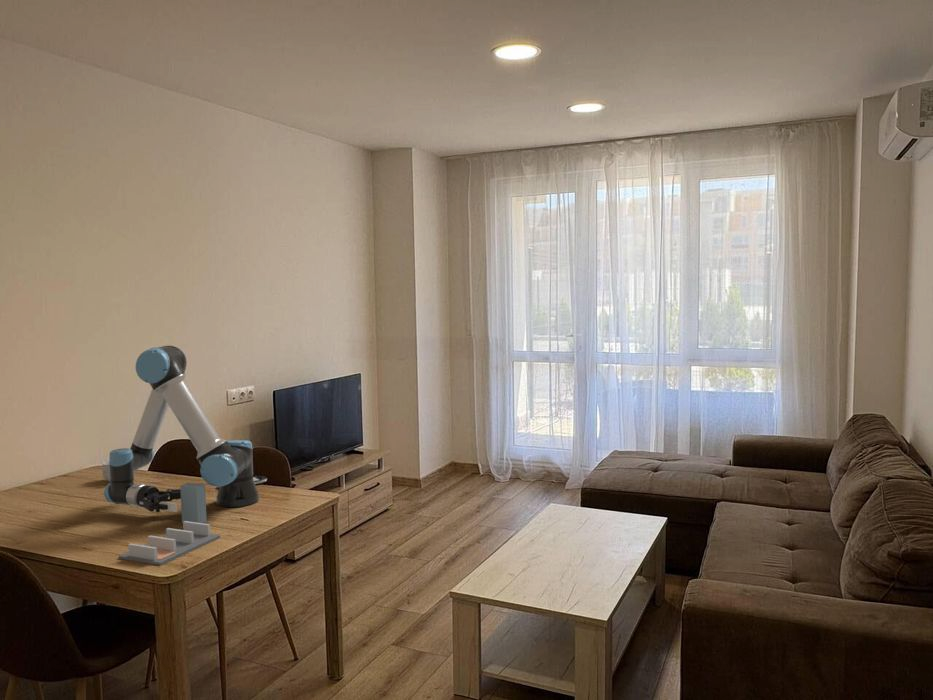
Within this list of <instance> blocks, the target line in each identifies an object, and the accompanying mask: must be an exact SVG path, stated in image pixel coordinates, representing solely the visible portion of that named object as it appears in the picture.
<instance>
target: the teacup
mask: <svg viewBox="0 0 933 700" xmlns="http://www.w3.org/2000/svg"><path fill="white" fill-rule="evenodd" d="M101 465H102V477H103V479H104V480H106V481H107V482H108V483H110V482H111V479H110V464H109V460H108V461H104V462H102V464H101Z"/></svg>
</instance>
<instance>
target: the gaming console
mask: <svg viewBox="0 0 933 700" xmlns="http://www.w3.org/2000/svg"><path fill="white" fill-rule="evenodd" d="M253 480H254V483H255V486H257V485H263V484H266V482H267V480H268V478H267V477H266V476H264V475H256V476H254V475H253Z"/></svg>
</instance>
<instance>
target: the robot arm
mask: <svg viewBox="0 0 933 700" xmlns="http://www.w3.org/2000/svg"><path fill="white" fill-rule="evenodd" d="M187 363H188V362H187V357H186V355H185V353H184V352H183V350H182V349H181V348H179V347H177V346H174V345H163V346H159V347H158V346H157V347H152V348H149V349H146V350H144V351H143V352H141V353H140V354H139V355H138V357H137V359H136V362H135V371H136V375H137V377H138V378H139V379H140V380H141V381H143V382H145V383H147V384H149V385H150V387H151V391H150V394H149V397H148V398H147V399H148V400H146V401H147V402H146V404H145V406H144V409H143V412H142V415H141V417H140V421H139V423H138V426H137V429H136V432H135V434H134V438H133V440H132V443H131V445H130V448H126V447H125V448H124V447H123V448H117V449H113V450H111V451H110V452H109V460H108V461H109V464H110V479H111V482H108V483H107V484H106V486H104V487H105V489H104V490H103V496H104V498H105V500H106V501H107V502H108V503H113V504H115V505H124V506H126V505H127V506H133V507H136V508H140V507H141V508H144V509H146V510H147V511H149V512H151V513H152V512H155V513H160V512H161V511H166V512H171V513H172V512H174V513H177V512H178V503H177V502H172V501H173V500H181V490H180V488H177V489H176V488H175V489H172V488H168V489H166V490H159V489H158V487H156V486H154V485H146V484H141V483H140V484H138V483H135V476H134V475H135V474H134V473H135V471H137V470H139V469H141V468H144V467H146V466H147V465H149V464H150V463H151V462H153V460H154V457H155V453H154V450H153V449H154V447H155V445H156V444H155V443H156V441H157V439H158V436H159V434H160V432H161V428H162V425H163V423H164V420H165V418H166V416H167V415H166V414H167V412H168V410H169V409H170V410H171V411H172V413H173V414H174V416H175V417H176V419H177V420H178V422H179V424H180V425H181V427H182V428H183V430H184V432H185V433H186V435H187V436H188V439H189V440H190V442H191V443H192V445H193V446H194V448H195V449H196V451H197V454H196V455H197V456H196V459H197V461H198V463H199V464H200V469H199V470H200V472H199V473H200V475H201V478H202V480H203V481H204V482H205V483H207V484H208V485H209V486H213V487H216V488H217V487H218V491H217V495H216V505H217V506H219V507H224V508H237V507H239V508H240V507H245V506H250V505H253V504H256V503H257V502H258V501H260V494H259V492H258V490H257V489H258V488H257V485H255V483H254V480H253V476H254V461H253V458H254V457H253V450H254V448H253V443H252V442H251V441H250V440H247V439H245V440H243V439H239V440H238V439H234V440H233V439H232V440H227V439H224V438H221V436H219V433H217V431H216V429H215V428H214V426H213V425H212V423H211V421H210V420H209V418H208V416H207V415H206V413H205V412H204V410H203V408H202V407H201V405H200V404H199V403H198V400H197V399H196V398H195V396H194V394H193V393H192V391H191V389H190V388H189V387H188V385H187V383H186V381H185V379H186V378H185V377H186V373H185V372H186V369H187ZM205 495H206V496H207V492H205Z"/></svg>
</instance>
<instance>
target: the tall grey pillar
mask: <svg viewBox="0 0 933 700" xmlns="http://www.w3.org/2000/svg"><path fill="white" fill-rule="evenodd" d="M179 487H180V488H179V489H180V490H181V499H180V508H181V512H180V513H181V524H183V522H184V521H190V522H197V523H204V524H206V523H207V522H208V521H207V520H208V519H207V494H206V495H205V493H206V484H205V483H196V482H187V483H183V484H181V485H180V486H179Z"/></svg>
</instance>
